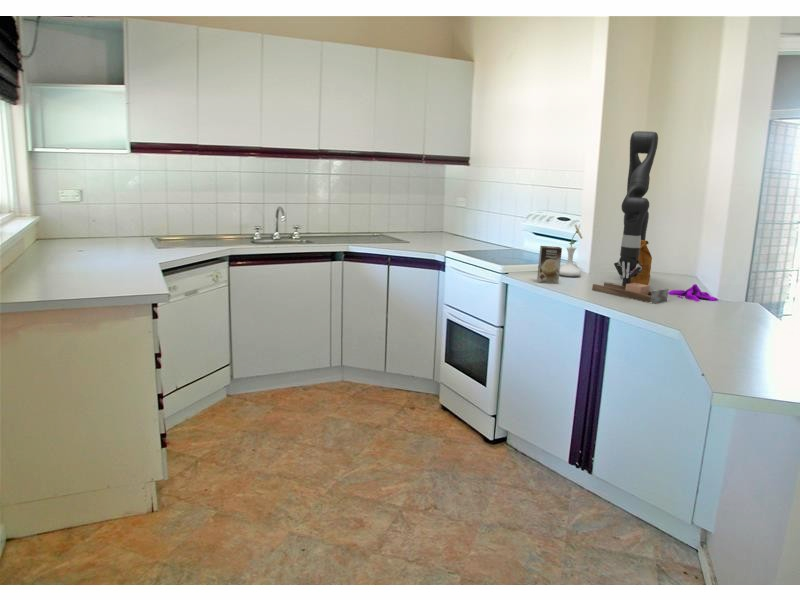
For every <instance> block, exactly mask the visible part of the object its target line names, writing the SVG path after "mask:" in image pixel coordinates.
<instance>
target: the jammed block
mask: <svg viewBox="0 0 800 600" xmlns="http://www.w3.org/2000/svg"><path fill="white" fill-rule="evenodd" d="M649 289H650V285H643V284H638V283H629V284H626V288H625V290H626V291H630V292H635V293H640V294H644V295H648V292H649Z"/></svg>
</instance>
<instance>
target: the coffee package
mask: <svg viewBox="0 0 800 600" xmlns="http://www.w3.org/2000/svg"><path fill="white" fill-rule="evenodd" d="M648 245H649V241H648V240H646V239H645V240H641V245H640V253H639V258H638V261H639V265H640V266H641V267H643V269H642V270H641V271H640V272H639V273H638V274H637V276H636V277H632V278H631V282H630V283H638V284H643V285H649V284H650V280H651V271H652V269H651V268H652V260H653V257H652V255H651V252H650V250H649V248H648ZM635 268H636V267H635ZM625 270H626V269H625ZM634 271H635V269H634ZM621 286H623V284H621ZM649 286H650V285H649Z"/></svg>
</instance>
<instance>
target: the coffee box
mask: <svg viewBox="0 0 800 600" xmlns="http://www.w3.org/2000/svg"><path fill="white" fill-rule="evenodd" d="M562 251H563V248H562V247H560V246H553V245H552V246H547V245H540V248H539V256H538V265H537V267H538V269H537V277H536V280H537V282H538V283H547V284H559V281H560V274H559V272H560V267H561V262H562V260H561V259H562Z"/></svg>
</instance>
